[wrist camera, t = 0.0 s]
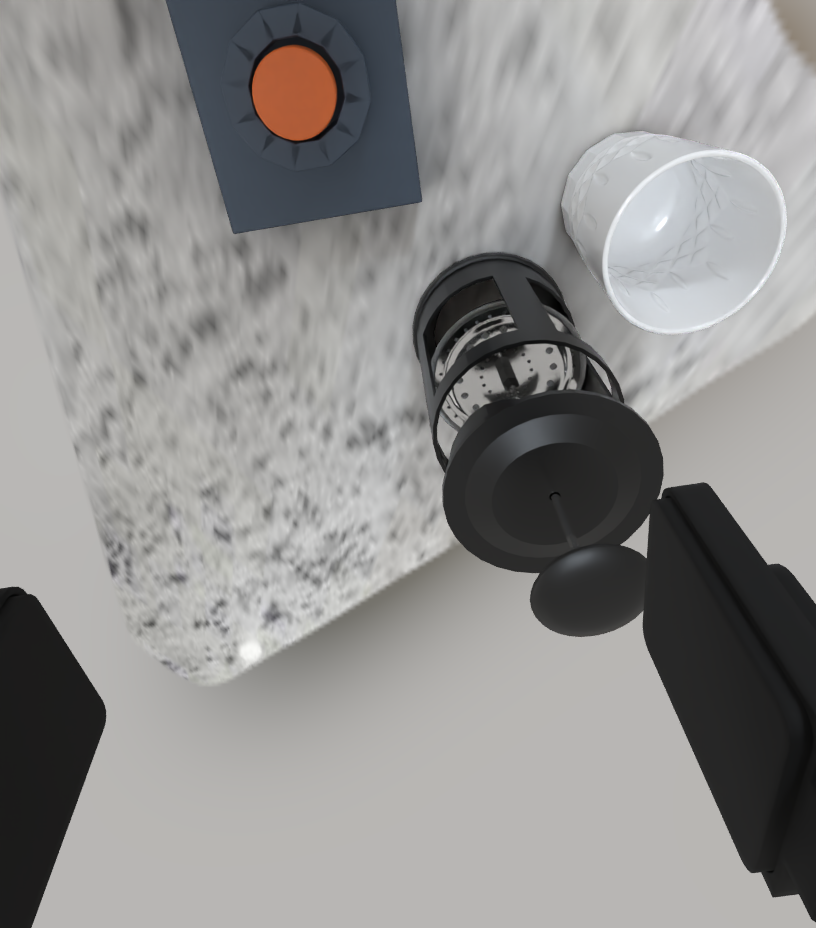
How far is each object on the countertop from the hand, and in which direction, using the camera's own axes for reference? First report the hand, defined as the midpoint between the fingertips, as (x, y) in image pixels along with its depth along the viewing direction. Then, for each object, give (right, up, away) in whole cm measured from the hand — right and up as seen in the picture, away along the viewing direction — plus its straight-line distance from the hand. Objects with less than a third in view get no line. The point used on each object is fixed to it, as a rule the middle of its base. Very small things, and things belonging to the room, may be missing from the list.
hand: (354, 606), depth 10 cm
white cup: (+13, +17, +27) cm, 35 cm away
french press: (+6, +10, +31) cm, 33 cm away
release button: (-4, +19, +20) cm, 28 cm away
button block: (-4, +21, +23) cm, 32 cm away
